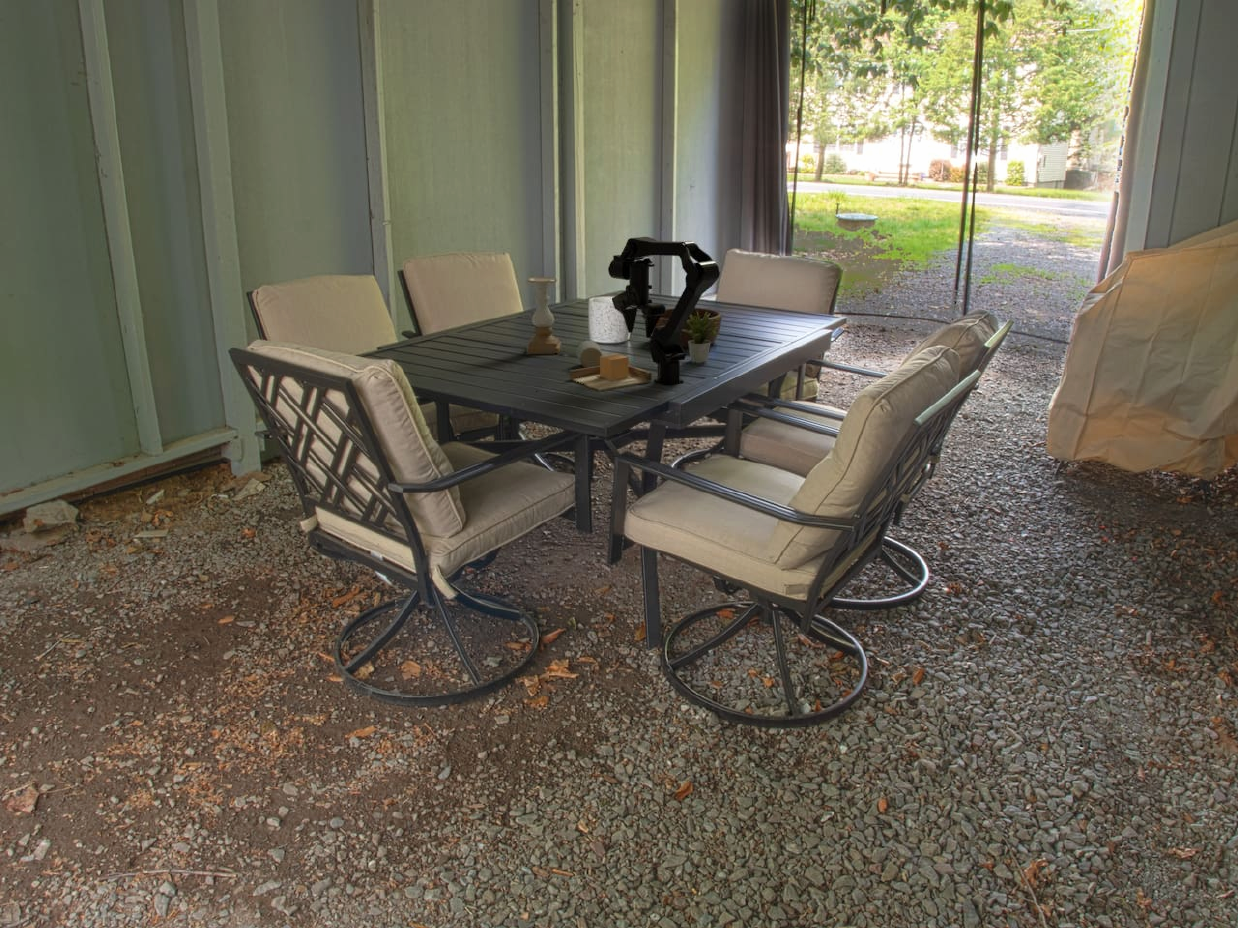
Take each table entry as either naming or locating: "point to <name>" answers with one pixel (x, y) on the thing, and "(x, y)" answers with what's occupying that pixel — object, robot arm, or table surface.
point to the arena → (599, 383)
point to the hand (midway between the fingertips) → (639, 335)
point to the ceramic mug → (589, 354)
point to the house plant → (700, 337)
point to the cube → (614, 366)
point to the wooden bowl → (685, 335)
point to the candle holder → (543, 320)
